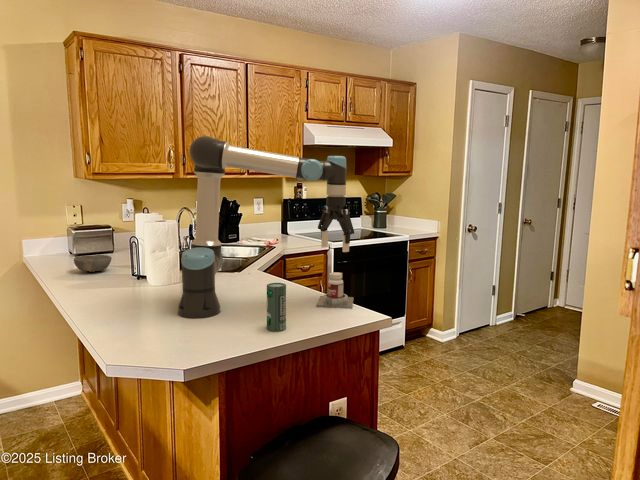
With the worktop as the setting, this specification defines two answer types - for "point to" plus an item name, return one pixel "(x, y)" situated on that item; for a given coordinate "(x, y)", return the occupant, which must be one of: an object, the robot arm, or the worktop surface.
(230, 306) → the worktop surface
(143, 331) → the worktop surface
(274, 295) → the can
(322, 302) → the duct flange
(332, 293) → the pill bottle
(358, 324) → the worktop surface
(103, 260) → the bowl
